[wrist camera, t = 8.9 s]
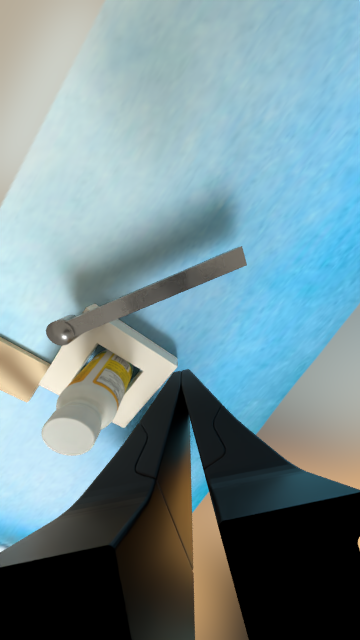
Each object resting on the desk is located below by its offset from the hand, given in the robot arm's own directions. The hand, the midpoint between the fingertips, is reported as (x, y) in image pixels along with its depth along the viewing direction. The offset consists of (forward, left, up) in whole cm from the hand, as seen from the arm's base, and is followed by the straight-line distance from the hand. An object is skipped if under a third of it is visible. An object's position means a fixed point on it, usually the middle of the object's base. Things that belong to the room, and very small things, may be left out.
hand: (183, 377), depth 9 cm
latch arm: (0, +4, -10) cm, 11 cm away
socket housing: (-11, +3, -12) cm, 16 cm away
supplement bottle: (-11, +3, -12) cm, 16 cm away
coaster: (-19, +13, -12) cm, 25 cm away
